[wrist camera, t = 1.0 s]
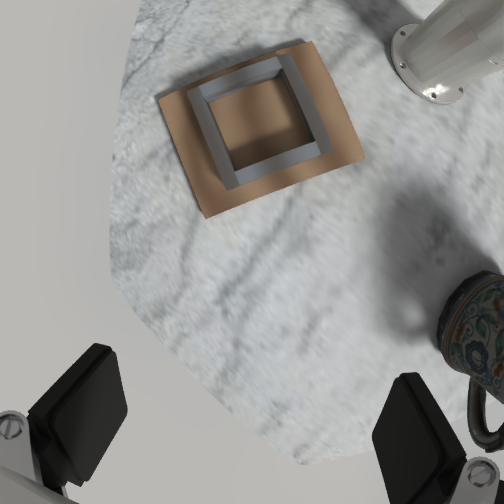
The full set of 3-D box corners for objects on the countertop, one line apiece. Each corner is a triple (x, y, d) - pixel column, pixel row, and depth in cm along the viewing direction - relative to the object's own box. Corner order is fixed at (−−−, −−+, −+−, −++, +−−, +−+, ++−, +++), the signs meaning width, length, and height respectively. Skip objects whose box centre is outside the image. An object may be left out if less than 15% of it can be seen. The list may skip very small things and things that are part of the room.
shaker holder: (310, 45, 30) (314, 30, 26) (362, 159, 33) (374, 156, 29) (162, 102, 33) (148, 93, 29) (207, 217, 36) (199, 222, 32)
